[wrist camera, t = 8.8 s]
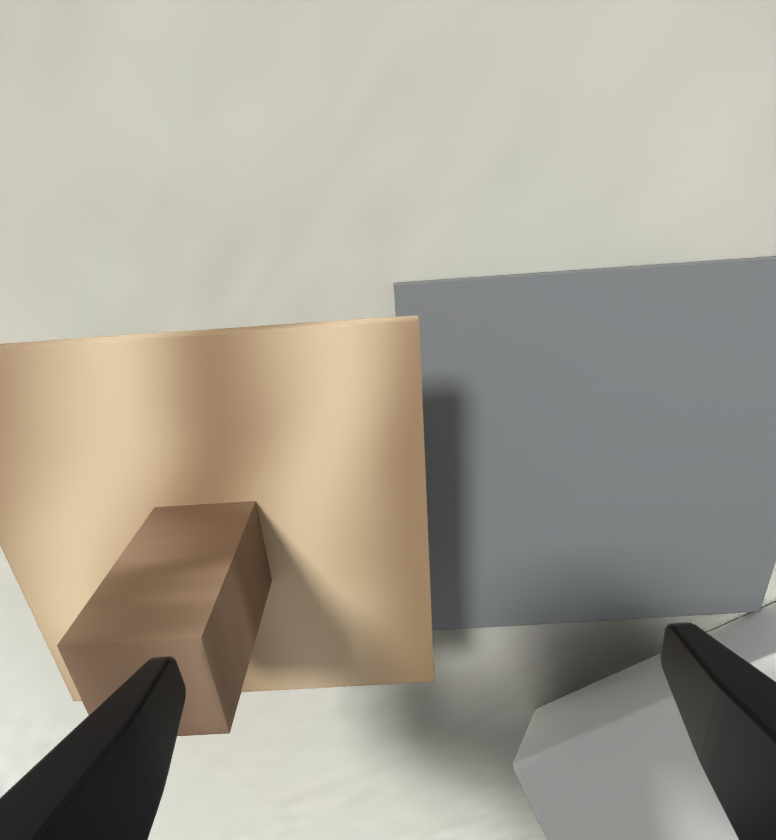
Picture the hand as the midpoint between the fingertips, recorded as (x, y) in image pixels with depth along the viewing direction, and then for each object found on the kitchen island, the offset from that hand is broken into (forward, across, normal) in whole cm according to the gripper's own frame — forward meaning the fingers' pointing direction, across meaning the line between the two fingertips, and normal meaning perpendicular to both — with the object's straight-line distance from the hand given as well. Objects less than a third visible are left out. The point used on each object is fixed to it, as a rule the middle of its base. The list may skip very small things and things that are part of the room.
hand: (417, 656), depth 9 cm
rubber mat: (+12, -8, +3) cm, 15 cm away
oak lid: (+6, +6, +2) cm, 9 cm away
